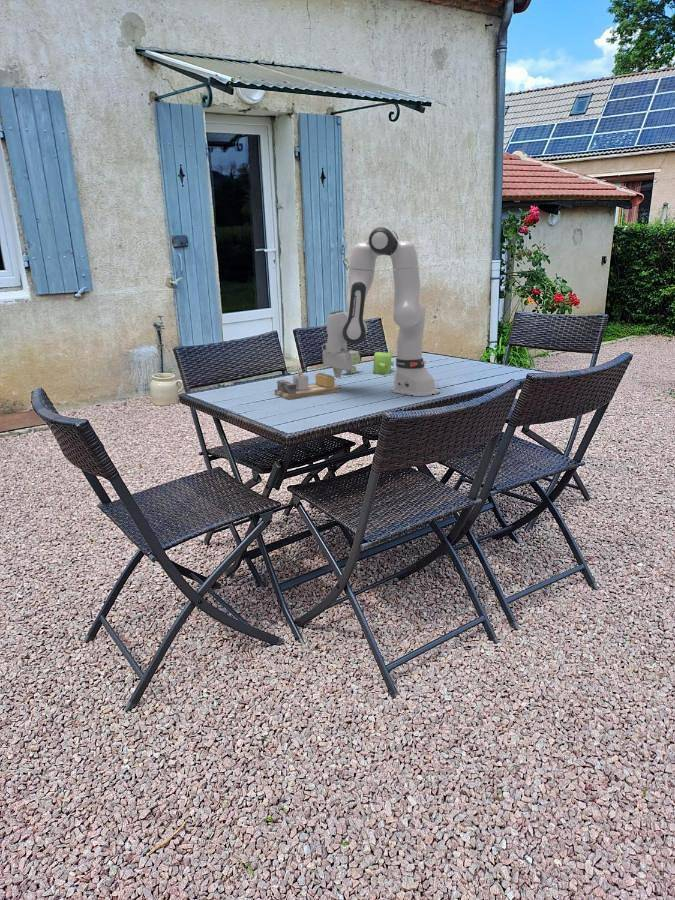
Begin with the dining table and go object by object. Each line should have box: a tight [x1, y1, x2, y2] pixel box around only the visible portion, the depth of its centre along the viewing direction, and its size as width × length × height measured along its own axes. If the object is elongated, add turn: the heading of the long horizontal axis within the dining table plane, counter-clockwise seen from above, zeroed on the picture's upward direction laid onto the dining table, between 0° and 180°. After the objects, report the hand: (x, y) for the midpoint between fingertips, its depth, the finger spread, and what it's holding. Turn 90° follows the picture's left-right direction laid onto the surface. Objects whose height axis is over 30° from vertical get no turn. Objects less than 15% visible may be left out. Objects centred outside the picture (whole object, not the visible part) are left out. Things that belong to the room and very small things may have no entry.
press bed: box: [274, 379, 342, 401], centre depth 298 cm, size 14×26×6 cm, turn 121°
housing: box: [292, 370, 309, 391], centre depth 295 cm, size 5×5×8 cm
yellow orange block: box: [315, 372, 335, 387], centre depth 302 cm, size 10×4×5 cm, turn 31°
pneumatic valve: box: [345, 349, 363, 375], centre depth 338 cm, size 6×12×12 cm, turn 136°
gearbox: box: [372, 351, 395, 375], centre depth 339 cm, size 18×10×10 cm, turn 173°
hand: (337, 377), depth 305 cm, fingers closed
